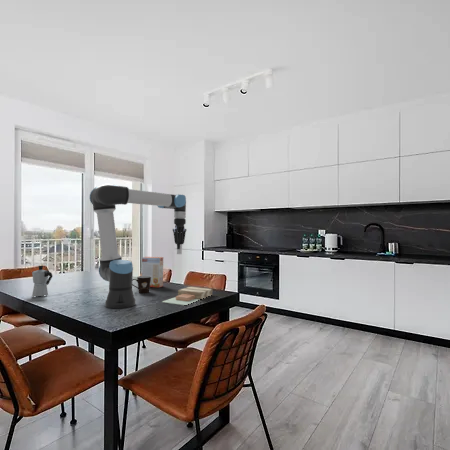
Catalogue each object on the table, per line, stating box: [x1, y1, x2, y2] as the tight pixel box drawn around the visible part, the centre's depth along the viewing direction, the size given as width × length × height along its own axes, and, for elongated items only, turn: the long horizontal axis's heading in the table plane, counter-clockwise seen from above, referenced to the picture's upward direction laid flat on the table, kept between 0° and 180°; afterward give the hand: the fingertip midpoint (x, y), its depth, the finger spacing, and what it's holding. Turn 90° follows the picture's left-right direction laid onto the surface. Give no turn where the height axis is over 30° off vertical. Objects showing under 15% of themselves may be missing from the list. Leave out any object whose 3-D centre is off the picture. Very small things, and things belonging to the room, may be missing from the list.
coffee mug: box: [132, 275, 151, 294], centre depth 193 cm, size 12×9×10 cm
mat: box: [161, 296, 201, 306], centre depth 170 cm, size 15×16×1 cm
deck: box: [177, 286, 213, 300], centre depth 183 cm, size 14×16×4 cm
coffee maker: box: [31, 265, 53, 297], centre depth 179 cm, size 15×9×18 cm, turn 73°
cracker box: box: [141, 256, 164, 288], centre depth 213 cm, size 14×6×21 cm, turn 74°
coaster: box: [175, 294, 195, 301], centre depth 173 cm, size 8×8×2 cm
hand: (179, 254), depth 198 cm, fingers closed
